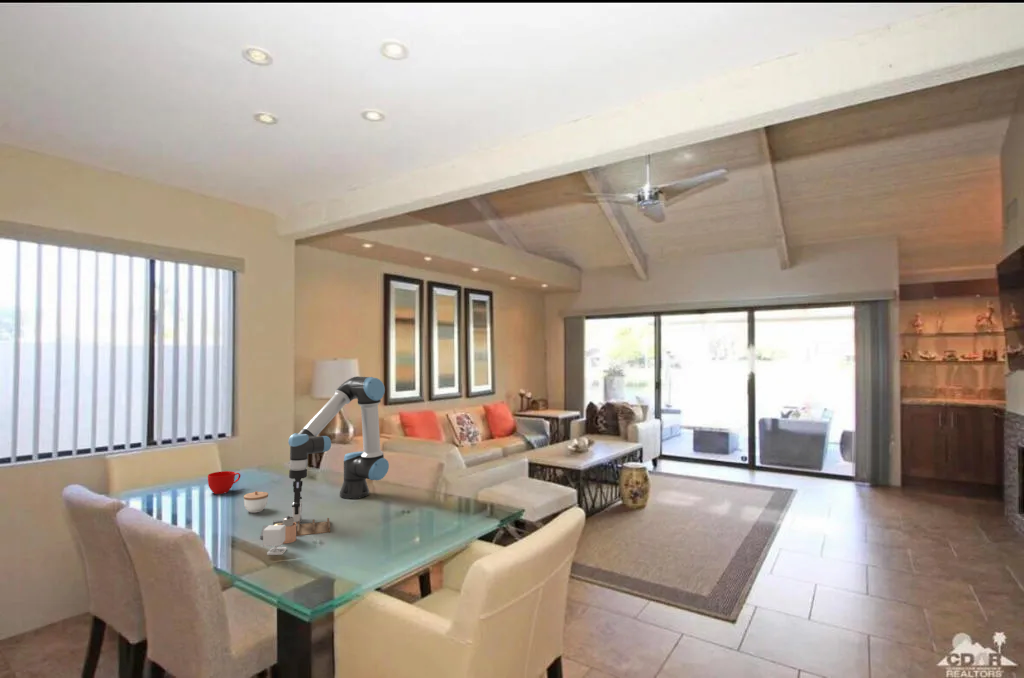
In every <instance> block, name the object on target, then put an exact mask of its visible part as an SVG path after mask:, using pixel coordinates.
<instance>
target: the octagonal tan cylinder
mask: <svg viewBox="0 0 1024 678" xmlns="http://www.w3.org/2000/svg"><path fill="white" fill-rule="evenodd" d="M280 525H283V523H281V524H280ZM296 541H297V524H296V522H293V525H292V526H287V527H285V541H284V542H283V543H282V544H290V543H294V542H296Z"/></svg>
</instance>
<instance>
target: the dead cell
mask: <svg viewBox="0 0 1024 678" xmlns="http://www.w3.org/2000/svg"><path fill="white" fill-rule="evenodd" d="M282 520H283V525H285V526H286V527H287V526H292V525H293V517H292V516H289V515H288V516H285V517H283V518H282Z"/></svg>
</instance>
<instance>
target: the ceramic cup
mask: <svg viewBox="0 0 1024 678" xmlns="http://www.w3.org/2000/svg"><path fill="white" fill-rule="evenodd" d="M237 475H238V477H237V478H236V480H235V477H236V476H237ZM240 479H241V474H240V473H239V472H235V471H233V470H231V471H228V470H227V471H226V470H224V471H216V472H211V473H209V474H207V483H208V484H207V485H208V488H209V489H210V491H211V492H212V493H213V494H215V495H222V494H227V493H228V492H229V491H230V490H231V489H232V487H233V485H234V484H235V483H238V481H239V480H240Z"/></svg>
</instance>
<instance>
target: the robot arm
mask: <svg viewBox="0 0 1024 678" xmlns="http://www.w3.org/2000/svg"><path fill="white" fill-rule="evenodd" d="M385 388H386V387H385V385H384V383H383V381H382V380H381V379H379V378H377V377H373V376H352V377H350V378H349V379H347V380H346V381H343V383H341V384H340V385H339V386H338V387H337V388H336V390H335V391H334V395H333V396H332V397H331V398H330V399H329V400H328V401H326V403H325V404H324V405H323V406H322V407H321V409H320V410H319V411H318V412H317V413H315V415H314V416H313V417H312V418H311V419H310V420H309V422H308V423H306V425H305V426H304V427H303V428H302V429H301V430H300V431H299V432H295V433H293V434H291V435H290V436H289V438H288V442H287V443H288V445H289V447H290V448H289V461H288V462H287V464H288V465H289V472H288V477H289V479H291V480H294V481H292V487H293V496H294V497H293V502H294V505H293V504H292V505H291V507H292V508H293V522H296V521H300V501H301V500H302V499H303V497H302V495H301V492H302V490H303V489H302V487H303V480H302V479H305V478H307V477H308V469H307V468H308V463H309V462H308V461H309V460H308V459H309V455H311V454H318V453H320V454H321V453H322V454H323V453H324V452H328V451H329V450H330V449H331V447H332V440H331V438H330V437H329V436H327V435H320V434H321V432H322V431H323V430H324V429H325V428H326V426H328V424H329V423H330V422H331V421H332V420H333V419H334V417H336V415H338V413H340V411H341V410H342V409H343V408H344V406H346V405H348V404H350V403H351V402H352V401H353V400H356V399H357V404H358V406H359V407H360V410H361V411H360V412H361V414H360V415H361V431H362V433H361V434H362V446H363V447H362V449H363V450H362V451H352V452H348V453H345V454H344V457H343V482H342V485H341V487H340V491H339V497H340V498H341V497H343V498H342V499H345V498H357V499H360V498H359V497H363V498H365V497H364V496H366V495H368V494H369V495H370V490H369V486H368V483H367V480H370V481H381V480H382V479H384V478H385V476H386V475H387V474H388V472H389V468H390V463H389V461H388V460H387V459H386V458H385V455H384V454H385V453H384V451H382V449H381V437H380V436H381V435H380V434H381V433H380V419H379V405H380V404H381V402H382V398H383V397H384V395H385V391H386V389H385ZM318 435H320V436H318ZM369 495H368V496H369ZM366 497H367V496H366ZM295 503H296V504H295Z"/></svg>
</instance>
